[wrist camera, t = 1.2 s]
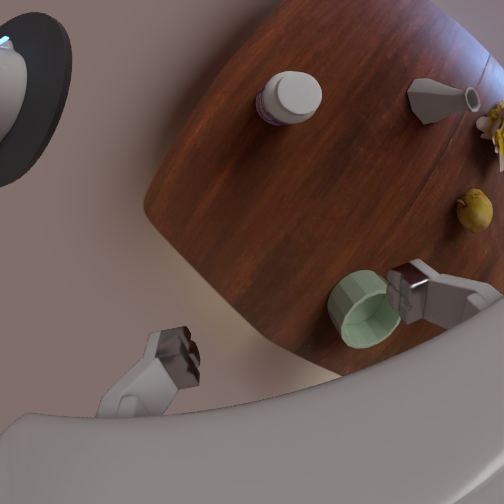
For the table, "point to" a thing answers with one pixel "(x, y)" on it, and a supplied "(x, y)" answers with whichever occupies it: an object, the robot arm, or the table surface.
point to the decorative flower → (494, 130)
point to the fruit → (474, 210)
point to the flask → (439, 100)
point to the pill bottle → (288, 98)
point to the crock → (362, 309)
